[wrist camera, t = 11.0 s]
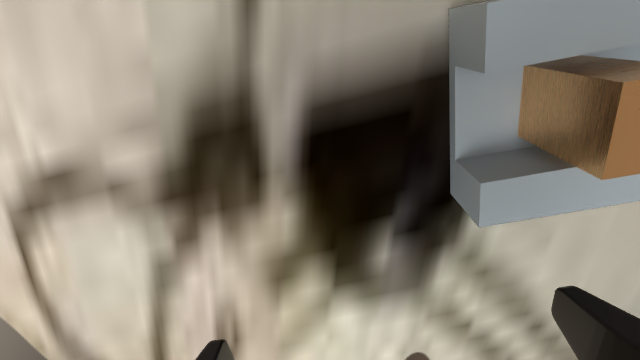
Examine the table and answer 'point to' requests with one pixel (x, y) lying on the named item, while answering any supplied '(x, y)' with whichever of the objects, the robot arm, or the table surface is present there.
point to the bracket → (505, 97)
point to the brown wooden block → (584, 113)
